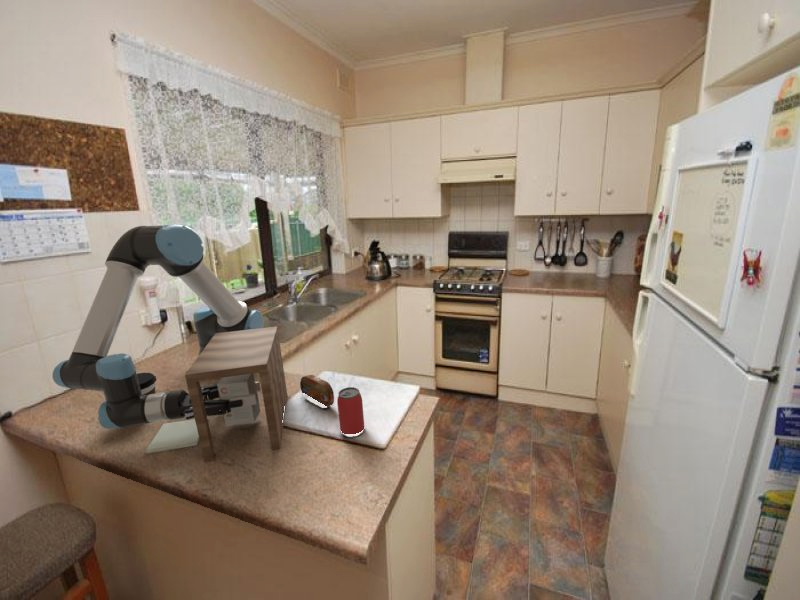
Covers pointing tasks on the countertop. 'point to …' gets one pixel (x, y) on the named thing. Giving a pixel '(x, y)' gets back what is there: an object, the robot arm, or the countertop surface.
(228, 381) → the small box
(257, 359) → the wooden step stool
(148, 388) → the coffee cup
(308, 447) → the countertop surface
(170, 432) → the pad
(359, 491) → the countertop surface
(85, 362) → the robot arm
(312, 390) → the brown rounded flat block
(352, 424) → the beer can
